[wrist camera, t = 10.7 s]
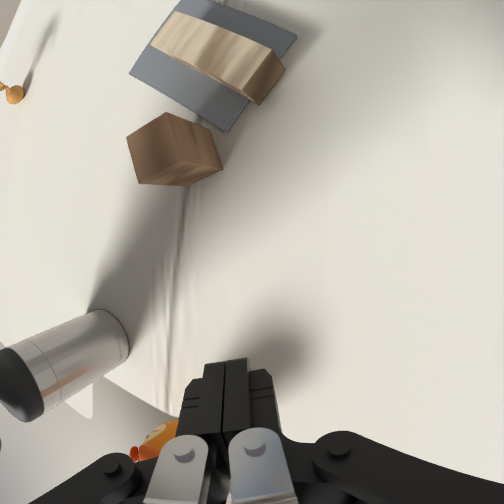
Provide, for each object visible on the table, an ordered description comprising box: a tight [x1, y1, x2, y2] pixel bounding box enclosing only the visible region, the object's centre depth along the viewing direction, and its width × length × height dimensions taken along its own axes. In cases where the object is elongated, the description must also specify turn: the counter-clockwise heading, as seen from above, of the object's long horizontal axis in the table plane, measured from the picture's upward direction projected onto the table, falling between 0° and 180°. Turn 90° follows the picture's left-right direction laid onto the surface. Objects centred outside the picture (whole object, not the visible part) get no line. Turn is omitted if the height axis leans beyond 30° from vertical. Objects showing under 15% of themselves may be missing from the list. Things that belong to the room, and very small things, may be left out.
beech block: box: [150, 11, 285, 105], centre depth 30 cm, size 5×5×14 cm
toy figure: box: [129, 419, 179, 462], centre depth 34 cm, size 12×8×15 cm
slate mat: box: [129, 0, 297, 133], centre depth 33 cm, size 18×14×1 cm
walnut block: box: [126, 112, 223, 186], centre depth 31 cm, size 5×5×9 cm
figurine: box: [0, 82, 24, 104], centre depth 40 cm, size 8×6×12 cm
